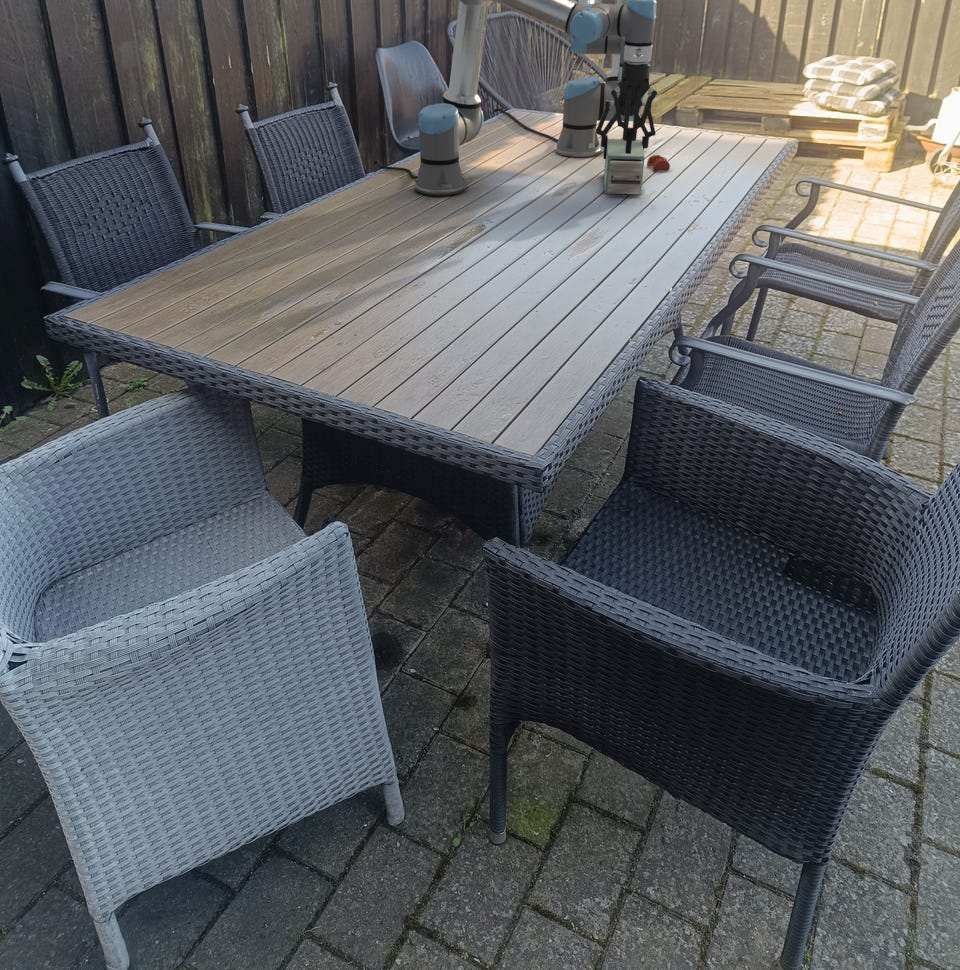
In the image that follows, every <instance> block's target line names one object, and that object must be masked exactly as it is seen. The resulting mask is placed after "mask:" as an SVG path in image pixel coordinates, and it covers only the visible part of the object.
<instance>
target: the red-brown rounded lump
mask: <svg viewBox="0 0 960 970" xmlns="http://www.w3.org/2000/svg"><path fill="white" fill-rule="evenodd" d="M670 166H671V165H670V163H669V161H668V158H667V157H665V156H661V154H653V155H651V156H649V157H648V159H647V162H646V167H647V168H649V167H652V171H653V172H662V171H669V170H670V169H671V168H670Z"/></svg>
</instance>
